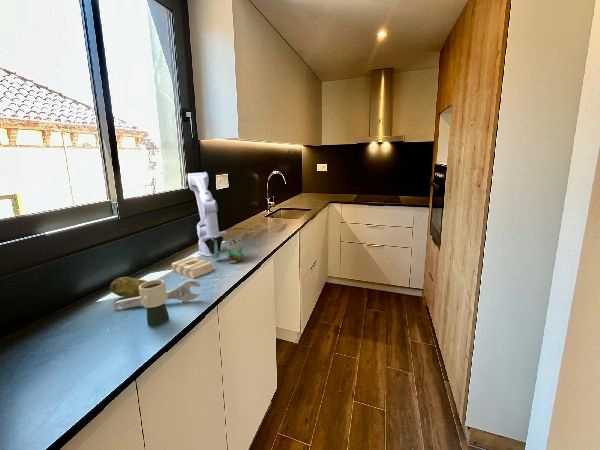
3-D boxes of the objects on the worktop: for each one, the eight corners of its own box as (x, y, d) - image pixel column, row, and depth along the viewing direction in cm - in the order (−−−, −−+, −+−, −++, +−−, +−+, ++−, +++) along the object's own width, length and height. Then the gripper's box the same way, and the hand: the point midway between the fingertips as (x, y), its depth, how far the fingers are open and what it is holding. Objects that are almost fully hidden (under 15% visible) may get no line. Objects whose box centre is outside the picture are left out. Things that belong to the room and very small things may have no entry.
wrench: (119, 315, 101) (204, 297, 103) (117, 317, 99) (203, 300, 101) (112, 294, 99) (198, 277, 101) (109, 297, 97) (197, 279, 99)
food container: (241, 264, 135) (239, 244, 132) (229, 265, 135) (226, 245, 133) (247, 256, 147) (245, 237, 144) (235, 256, 147) (233, 238, 145)
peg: (211, 258, 141) (209, 240, 139) (216, 256, 143) (214, 239, 141) (215, 259, 139) (213, 241, 137) (220, 257, 142) (218, 239, 140)
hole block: (173, 271, 131) (171, 263, 130) (192, 264, 139) (191, 256, 138) (193, 278, 122) (191, 269, 121) (212, 270, 129) (211, 262, 129)
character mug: (154, 314, 94) (147, 277, 91) (176, 312, 95) (170, 275, 92) (138, 333, 84) (130, 293, 81) (163, 331, 84) (155, 291, 81)
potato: (146, 299, 105) (142, 279, 103) (109, 303, 103) (104, 283, 102) (154, 289, 113) (151, 270, 111) (120, 293, 111) (116, 274, 110)
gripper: (204, 230, 130) (207, 258, 133) (229, 223, 141) (232, 249, 144) (195, 228, 134) (198, 255, 137) (220, 222, 145) (223, 247, 148)
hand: (215, 252), depth 141 cm, fingers closed on peg, 3 cm apart
